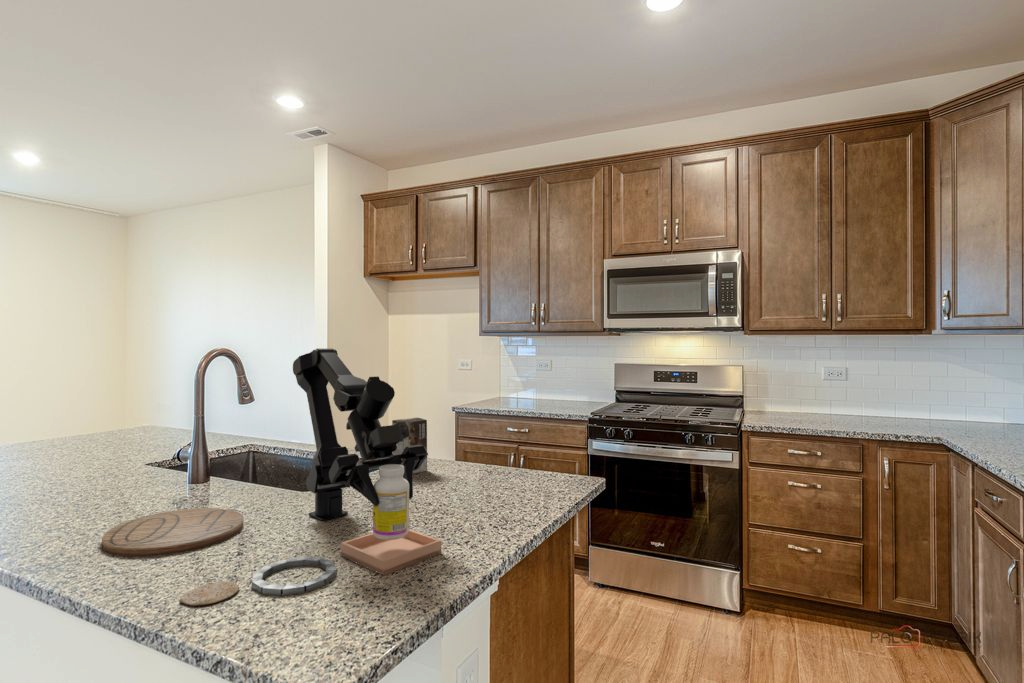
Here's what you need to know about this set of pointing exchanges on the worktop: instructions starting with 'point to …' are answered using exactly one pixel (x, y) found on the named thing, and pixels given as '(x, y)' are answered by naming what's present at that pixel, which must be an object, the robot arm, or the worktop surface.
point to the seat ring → (291, 589)
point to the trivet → (172, 532)
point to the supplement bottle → (391, 503)
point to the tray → (390, 551)
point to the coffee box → (413, 437)
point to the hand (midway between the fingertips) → (394, 501)
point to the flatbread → (209, 593)
